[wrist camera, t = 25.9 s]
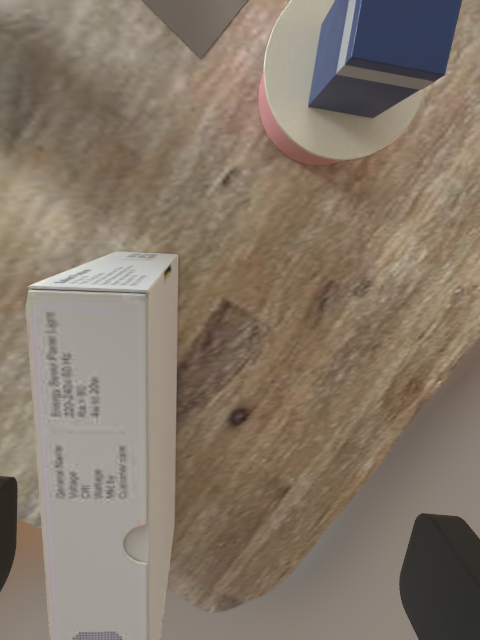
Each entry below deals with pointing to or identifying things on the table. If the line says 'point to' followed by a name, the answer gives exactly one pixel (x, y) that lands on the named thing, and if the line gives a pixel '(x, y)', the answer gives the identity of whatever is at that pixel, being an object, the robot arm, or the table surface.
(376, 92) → the carton
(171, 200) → the table surface
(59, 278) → the packaging
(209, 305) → the table surface
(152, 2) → the platform
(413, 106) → the yogurt tub
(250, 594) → the table surface
